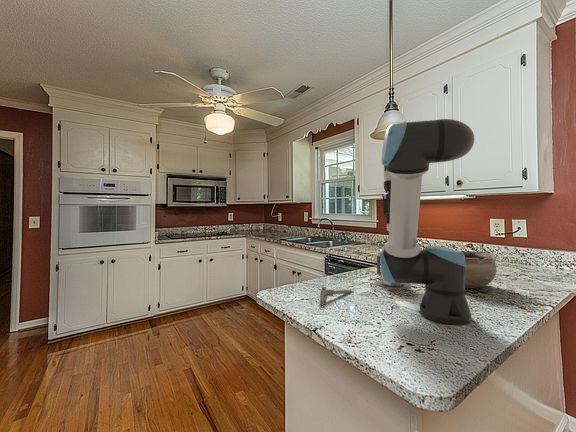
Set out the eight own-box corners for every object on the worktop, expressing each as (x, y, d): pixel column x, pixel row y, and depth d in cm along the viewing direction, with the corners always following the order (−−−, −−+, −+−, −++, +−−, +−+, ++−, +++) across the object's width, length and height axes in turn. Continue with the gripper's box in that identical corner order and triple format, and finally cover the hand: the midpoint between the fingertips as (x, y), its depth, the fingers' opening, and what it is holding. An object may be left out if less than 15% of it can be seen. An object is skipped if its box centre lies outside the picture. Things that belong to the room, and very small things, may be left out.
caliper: (322, 303, 105) (321, 288, 105) (319, 303, 106) (319, 287, 106) (353, 292, 119) (353, 278, 118) (351, 291, 120) (351, 277, 119)
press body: (408, 284, 125) (408, 253, 125) (396, 288, 119) (396, 256, 119) (383, 279, 136) (383, 250, 135) (371, 282, 130) (371, 252, 129)
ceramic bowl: (476, 296, 110) (476, 260, 110) (428, 283, 130) (429, 252, 130) (507, 289, 119) (507, 255, 119) (458, 277, 139) (459, 248, 139)
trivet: (418, 286, 125) (418, 284, 125) (399, 293, 115) (399, 291, 115) (387, 279, 138) (386, 277, 138) (367, 285, 128) (367, 283, 128)
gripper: (394, 181, 133) (394, 229, 134) (374, 180, 123) (375, 231, 123) (409, 180, 127) (409, 230, 128) (389, 178, 117) (389, 232, 117)
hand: (392, 230), depth 126 cm, fingers closed on plunger, 4 cm apart
